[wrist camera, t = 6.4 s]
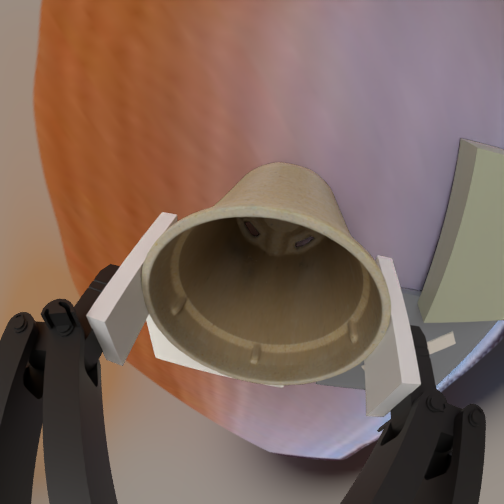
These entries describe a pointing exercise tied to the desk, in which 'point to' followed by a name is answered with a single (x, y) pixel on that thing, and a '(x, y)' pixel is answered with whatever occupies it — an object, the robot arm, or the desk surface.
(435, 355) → the pad
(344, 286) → the flower pot
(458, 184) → the notebook
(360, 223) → the desk surface
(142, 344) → the desk surface
